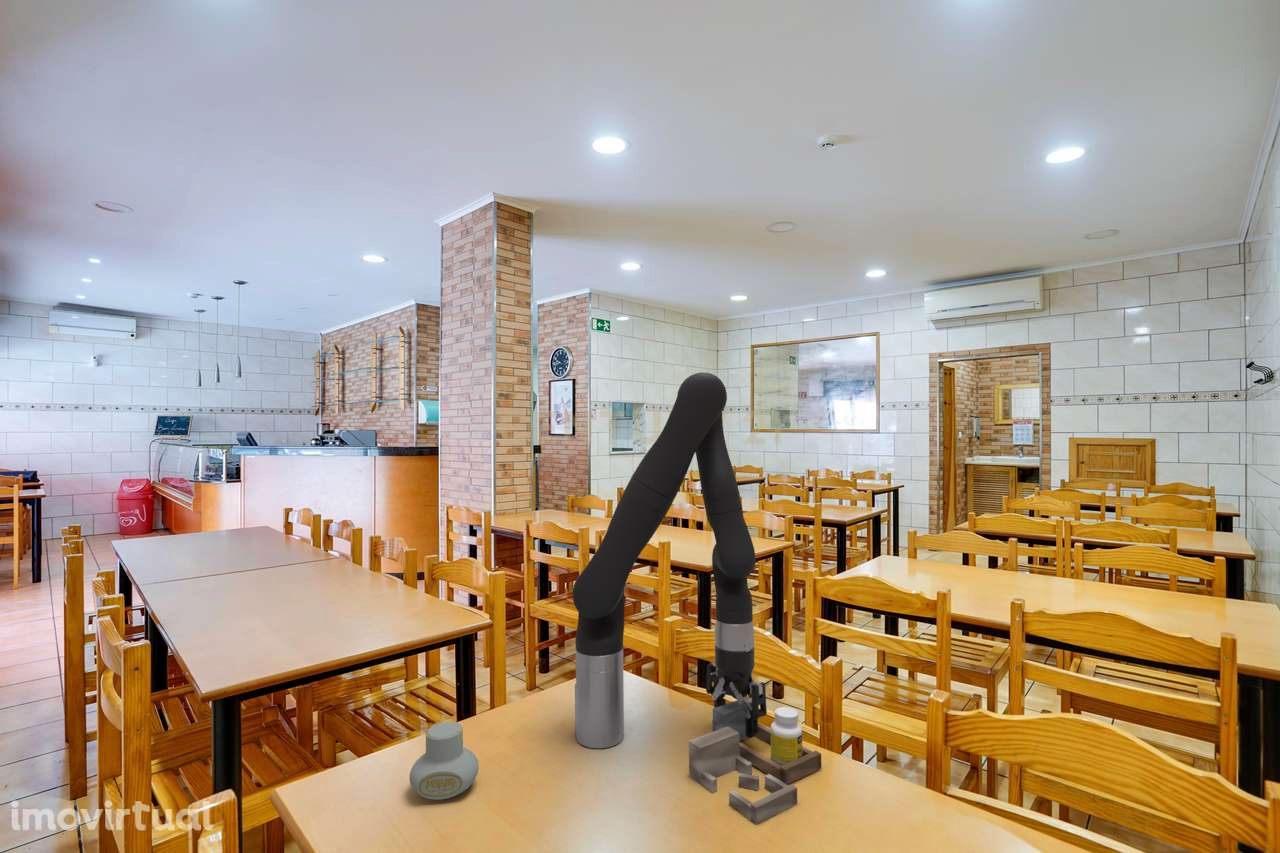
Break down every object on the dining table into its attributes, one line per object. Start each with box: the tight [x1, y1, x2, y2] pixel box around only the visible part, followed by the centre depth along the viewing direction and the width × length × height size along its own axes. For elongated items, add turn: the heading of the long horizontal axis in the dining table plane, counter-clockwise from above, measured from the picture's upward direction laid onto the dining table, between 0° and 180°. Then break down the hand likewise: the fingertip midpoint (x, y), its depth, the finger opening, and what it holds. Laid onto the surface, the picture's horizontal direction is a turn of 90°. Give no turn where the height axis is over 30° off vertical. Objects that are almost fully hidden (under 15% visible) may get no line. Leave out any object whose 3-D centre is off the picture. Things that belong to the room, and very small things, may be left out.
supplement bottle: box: [770, 706, 803, 766], centre depth 108 cm, size 5×5×10 cm
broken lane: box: [688, 727, 798, 825], centre depth 101 cm, size 16×9×6 cm, turn 34°
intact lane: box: [712, 696, 822, 785], centre depth 112 cm, size 18×9×6 cm, turn 34°
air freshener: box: [409, 721, 480, 801], centre depth 102 cm, size 11×8×10 cm
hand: (735, 727), depth 118 cm, fingers open, 8 cm apart
